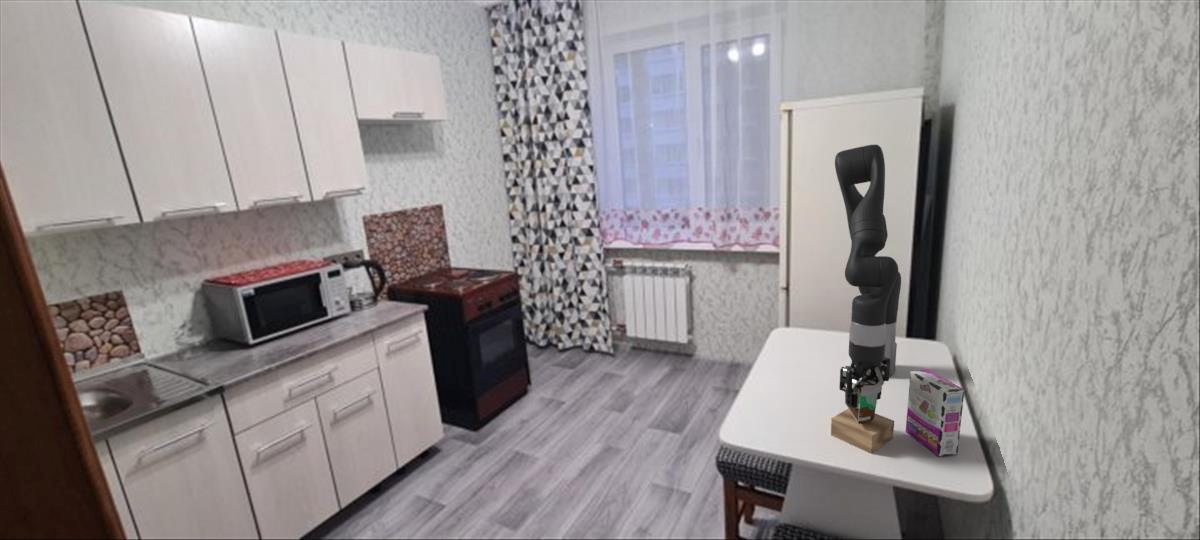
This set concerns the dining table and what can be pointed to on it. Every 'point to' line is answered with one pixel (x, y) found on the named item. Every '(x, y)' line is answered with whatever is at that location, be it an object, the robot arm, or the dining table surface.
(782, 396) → the dining table surface
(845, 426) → the oak block
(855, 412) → the food container
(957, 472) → the dining table surface
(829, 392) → the dining table surface
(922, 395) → the candy bar box
